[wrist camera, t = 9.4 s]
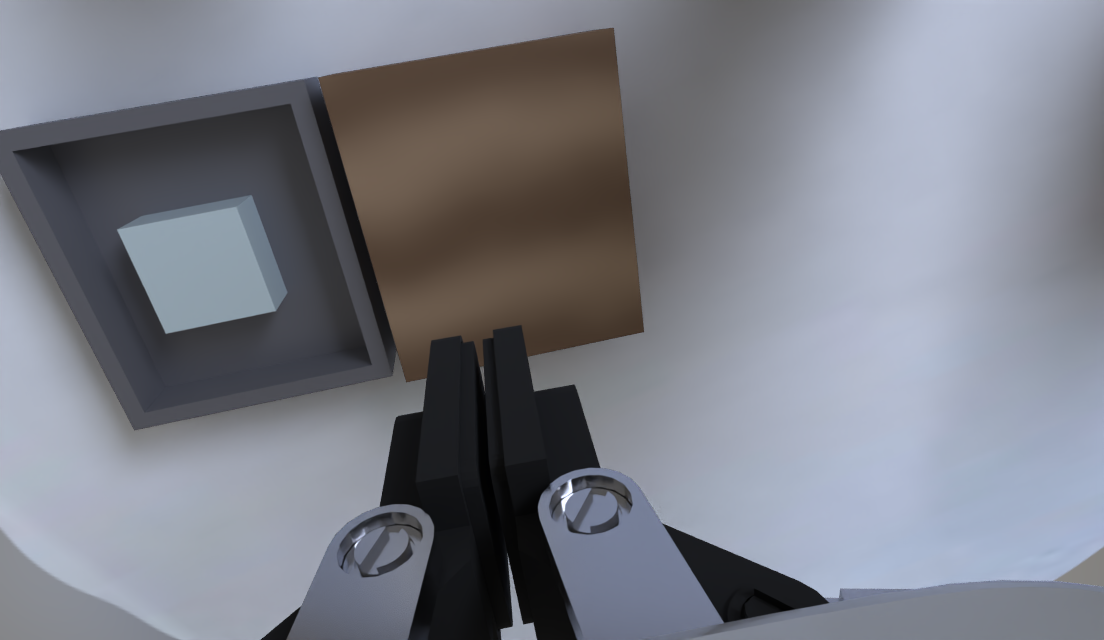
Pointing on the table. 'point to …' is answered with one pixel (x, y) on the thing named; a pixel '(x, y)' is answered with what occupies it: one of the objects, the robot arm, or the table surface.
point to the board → (494, 193)
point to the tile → (205, 263)
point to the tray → (194, 179)
